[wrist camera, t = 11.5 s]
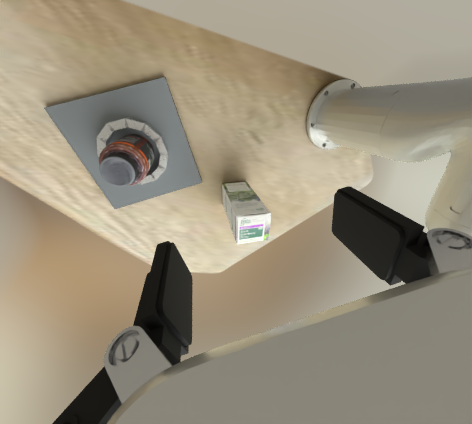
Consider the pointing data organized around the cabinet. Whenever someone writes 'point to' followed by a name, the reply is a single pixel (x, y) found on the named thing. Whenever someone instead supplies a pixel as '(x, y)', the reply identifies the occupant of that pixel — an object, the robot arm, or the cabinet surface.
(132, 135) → the supplement bottle
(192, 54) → the cabinet surface
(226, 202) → the syrup box
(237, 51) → the cabinet surface
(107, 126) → the ring collar
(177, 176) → the rubber mat
